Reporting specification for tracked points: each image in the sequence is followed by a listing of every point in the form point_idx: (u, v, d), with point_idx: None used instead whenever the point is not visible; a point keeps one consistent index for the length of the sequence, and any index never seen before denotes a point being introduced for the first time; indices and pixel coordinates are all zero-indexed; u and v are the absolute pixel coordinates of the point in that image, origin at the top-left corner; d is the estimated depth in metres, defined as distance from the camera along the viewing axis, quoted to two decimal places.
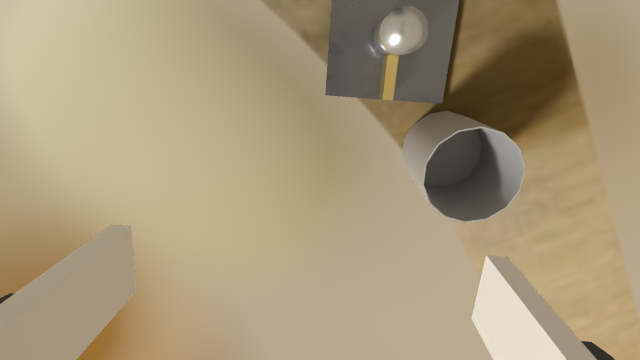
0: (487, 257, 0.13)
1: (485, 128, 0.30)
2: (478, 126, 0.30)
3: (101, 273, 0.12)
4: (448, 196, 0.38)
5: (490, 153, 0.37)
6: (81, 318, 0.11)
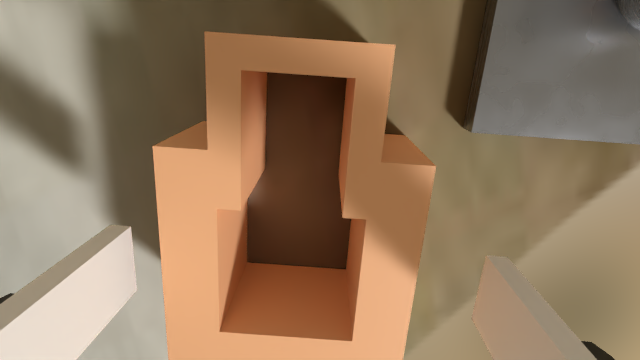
0: (486, 257, 0.13)
1: None
2: None
3: (101, 273, 0.12)
4: None
5: None
6: (81, 318, 0.11)
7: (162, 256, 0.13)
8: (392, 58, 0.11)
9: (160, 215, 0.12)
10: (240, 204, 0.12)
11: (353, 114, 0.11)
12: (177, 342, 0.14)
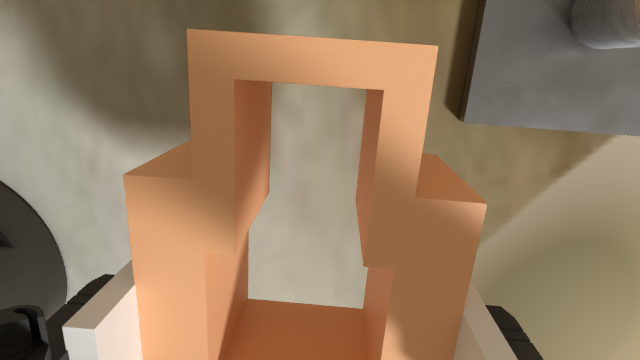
0: None
1: None
2: None
3: None
4: None
5: None
6: None
7: (138, 308, 0.10)
8: (433, 63, 0.08)
9: (135, 259, 0.10)
10: (234, 247, 0.10)
11: (380, 136, 0.09)
12: None
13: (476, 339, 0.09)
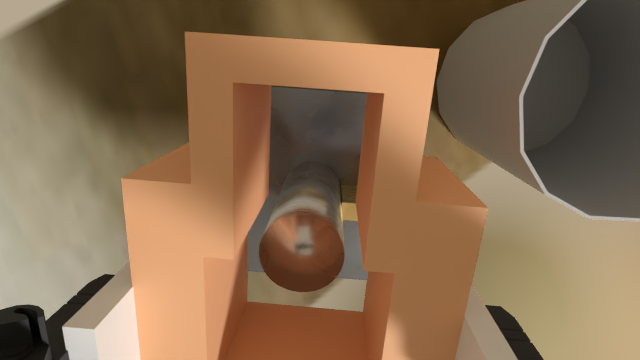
0: None
1: (525, 87, 0.12)
2: (516, 101, 0.12)
3: None
4: (633, 86, 0.18)
5: None
6: None
7: (136, 312, 0.10)
8: (434, 67, 0.08)
9: (133, 263, 0.10)
10: (233, 251, 0.10)
11: (380, 140, 0.09)
12: None
13: (476, 339, 0.09)
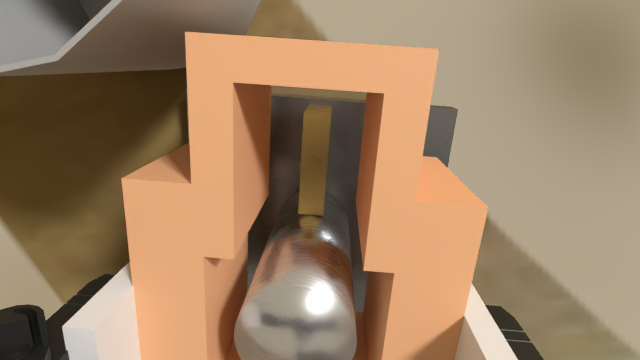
0: None
1: None
2: None
3: None
4: None
5: None
6: None
7: (137, 312, 0.10)
8: (434, 67, 0.08)
9: (133, 263, 0.10)
10: (233, 251, 0.10)
11: (380, 140, 0.09)
12: None
13: (476, 339, 0.09)
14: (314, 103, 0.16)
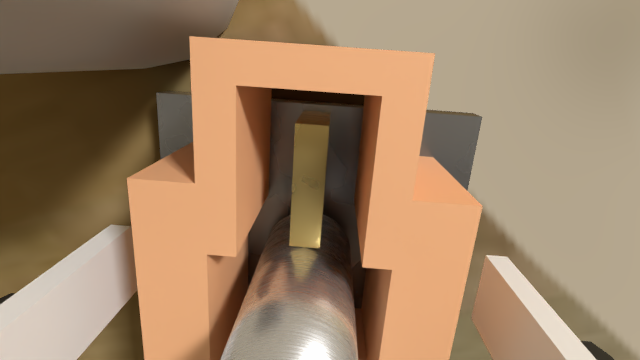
0: (486, 257, 0.13)
1: None
2: None
3: (101, 273, 0.12)
4: None
5: None
6: (82, 318, 0.11)
7: (141, 309, 0.11)
8: (430, 70, 0.08)
9: (138, 261, 0.10)
10: (235, 249, 0.10)
11: (378, 141, 0.09)
12: None
13: None
14: (309, 109, 0.14)
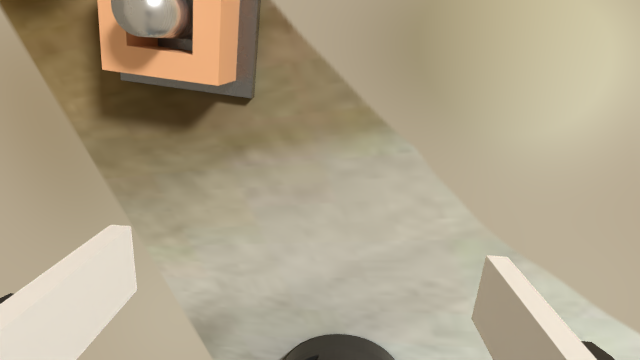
0: (486, 257, 0.13)
1: None
2: None
3: (101, 273, 0.12)
4: None
5: None
6: (81, 318, 0.11)
7: None
8: None
9: None
10: None
11: None
12: (106, 51, 0.28)
13: None
14: None
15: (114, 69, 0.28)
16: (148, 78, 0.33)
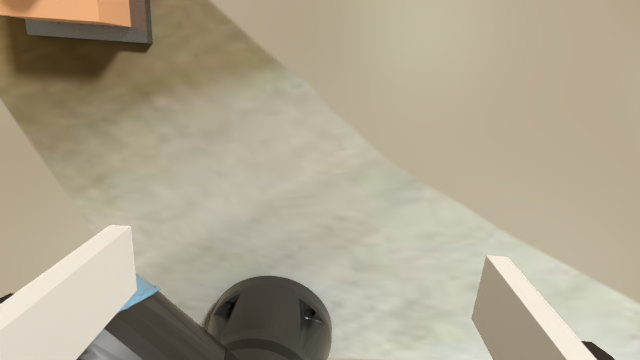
0: (487, 257, 0.13)
1: None
2: None
3: (101, 273, 0.12)
4: None
5: None
6: (81, 318, 0.11)
7: None
8: None
9: None
10: None
11: None
12: None
13: None
14: None
15: (5, 13, 0.31)
16: (52, 31, 0.36)
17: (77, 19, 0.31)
